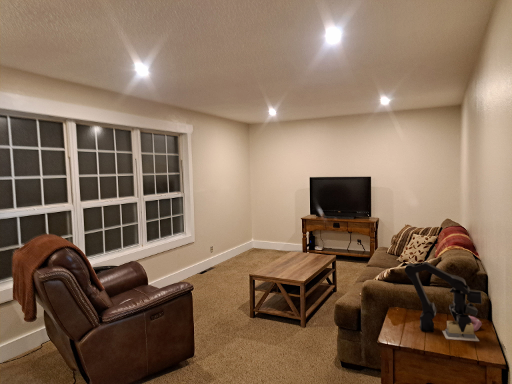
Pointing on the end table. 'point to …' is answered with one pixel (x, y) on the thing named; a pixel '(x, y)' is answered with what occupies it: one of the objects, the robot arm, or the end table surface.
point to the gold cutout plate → (459, 328)
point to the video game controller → (475, 323)
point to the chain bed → (460, 336)
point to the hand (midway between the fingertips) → (459, 328)
